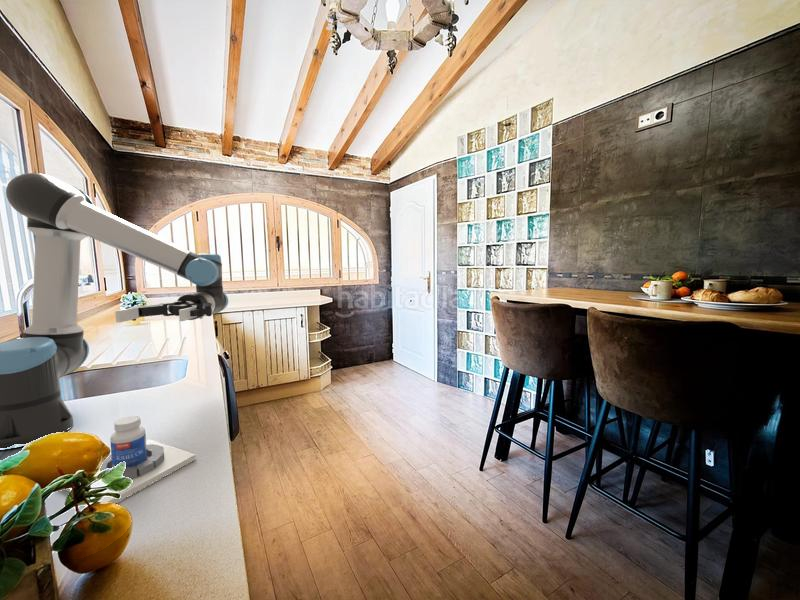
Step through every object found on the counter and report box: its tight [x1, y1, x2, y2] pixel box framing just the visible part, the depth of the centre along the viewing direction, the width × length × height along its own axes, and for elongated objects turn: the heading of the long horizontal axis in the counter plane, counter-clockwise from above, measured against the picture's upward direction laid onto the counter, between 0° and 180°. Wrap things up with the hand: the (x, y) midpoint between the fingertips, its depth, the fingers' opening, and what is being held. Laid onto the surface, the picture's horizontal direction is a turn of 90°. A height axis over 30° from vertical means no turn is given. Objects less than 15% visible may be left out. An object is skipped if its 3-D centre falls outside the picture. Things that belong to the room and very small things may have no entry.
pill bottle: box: [109, 415, 147, 468], centre depth 65 cm, size 6×5×10 cm
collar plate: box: [65, 439, 197, 504], centre depth 66 cm, size 16×16×3 cm
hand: (149, 316), depth 76 cm, fingers open, 13 cm apart
